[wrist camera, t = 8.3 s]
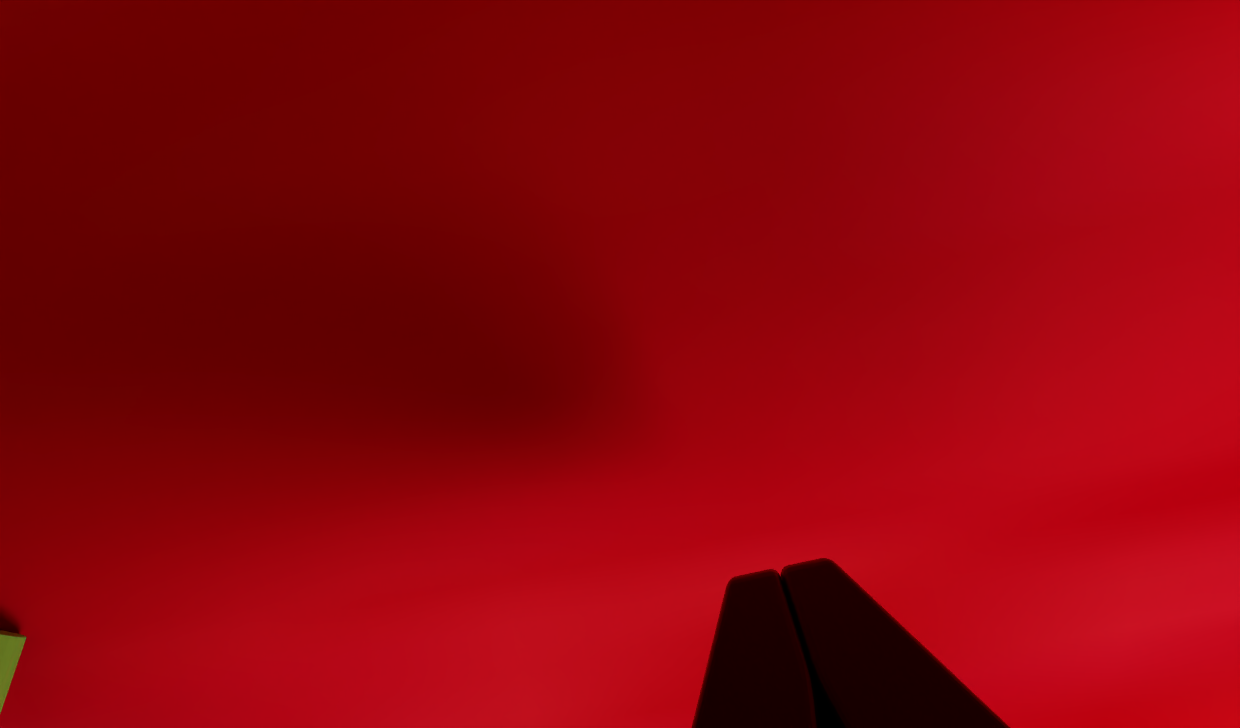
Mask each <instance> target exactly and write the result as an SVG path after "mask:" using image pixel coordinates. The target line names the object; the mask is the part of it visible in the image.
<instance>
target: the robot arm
mask: <svg viewBox="0 0 1240 728" xmlns="http://www.w3.org/2000/svg"><path fill="white" fill-rule="evenodd" d="M692 728H1010V727H1009V726H1008V725H1007V724H1006V723H1005V722H1004V721H1003V720H1002V719H1000V718H999V717H998V716H997V715H996V714H995V713H994V712H993V711H992V710H991V709H990V708H989V707H988V706H987V705H986V704H985V703H983V702H982V701H981V700H980V699H979V698H978V697H977V696H976V695H975V694H974V693H973V692H972V691H971V690H970V689H969V688H968V687H967V686H965V685H964V684H963V683H962V682H961V681H960V680H959V679H958V678H957V677H956V676H955V675H954V674H953V673H952V672H951V671H950V670H948V669H947V668H946V667H945V666H944V665H943V664H942V663H941V662H940V661H939V660H938V659H937V658H936V657H935V656H934V655H933V654H931V653H930V652H929V651H928V650H927V649H926V648H925V647H924V646H923V645H922V644H921V643H920V642H919V641H918V640H917V639H916V638H914V637H913V636H912V635H911V634H910V633H909V632H908V631H907V630H906V629H905V628H904V627H903V626H902V625H901V624H900V623H899V622H897V621H896V620H895V619H894V618H893V617H892V616H891V615H890V614H889V613H888V612H887V611H886V610H885V609H884V608H883V607H882V606H881V605H879V604H878V603H877V602H876V601H875V600H874V599H873V598H872V597H871V596H870V595H869V594H868V593H867V592H866V591H865V590H864V589H862V588H861V587H860V586H859V585H858V584H857V583H856V582H855V581H854V580H853V579H852V578H851V577H850V576H849V575H848V574H847V573H845V572H844V571H843V570H842V569H841V568H840V567H839V566H838V565H837V564H836V563H834V562H833V561H832V560H830V559H827V558H820V559H816V560H811V561H806V562H802V563H797V564H792V565H788V566H785V567H784V568H783V569H782V572H781V577H780V575H779V573H778V572H777V571H775V570H773V569H769V570H764V571H759V572H755V573H750V574H745V575H741V576H736V577H733V578H732V579H731V580H730V581H729V582H728V584H727V587H726V590H725V594H724V598H723V602H722V606H721V611H720V615H719V619H718V623H717V627H716V631H715V635H714V639H713V643H712V647H711V651H710V655H709V659H708V663H707V668H706V672H705V676H704V680H703V684H702V688H701V692H700V696H699V700H698V704H697V708H696V712H695V716H694V720H693V725H692Z"/></svg>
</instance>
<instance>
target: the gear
mask: <svg viewBox="0 0 1240 728" xmlns="http://www.w3.org/2000/svg"><path fill="white" fill-rule="evenodd" d="M25 640H26V636H24V635H21V634H17V633H12V632H8V631H3V630H0V713H1V710H2V707H3V704H4V701H5V698H6V695H7V692H8V689H9V687H10V684H11V681H12V678H13V675H14V672H15V669H16V666H17V663H18V660H19V657H20V655H21V652H22V649H23V646H24V643H25Z"/></svg>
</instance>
